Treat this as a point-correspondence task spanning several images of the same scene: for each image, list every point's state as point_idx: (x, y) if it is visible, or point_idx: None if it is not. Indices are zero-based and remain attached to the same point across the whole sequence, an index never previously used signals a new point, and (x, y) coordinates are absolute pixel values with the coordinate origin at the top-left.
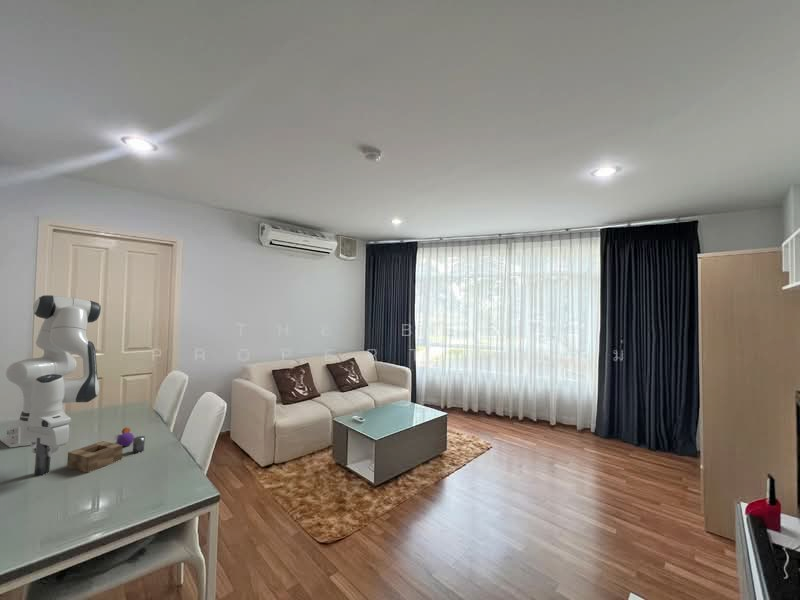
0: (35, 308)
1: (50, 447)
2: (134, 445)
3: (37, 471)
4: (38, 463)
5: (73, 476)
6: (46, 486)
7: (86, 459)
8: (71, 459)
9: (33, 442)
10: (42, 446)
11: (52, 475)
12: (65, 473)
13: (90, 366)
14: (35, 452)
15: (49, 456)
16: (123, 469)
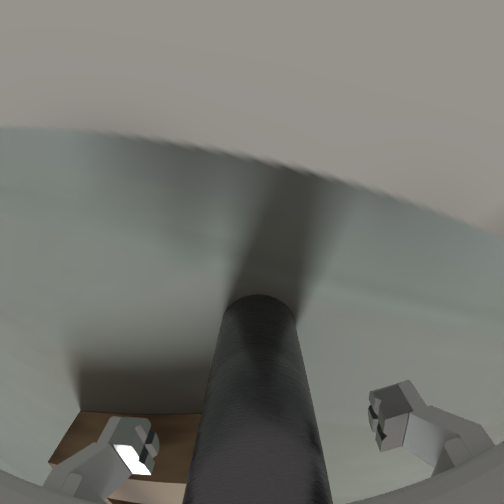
0: None
1: (65, 480)
2: None
3: (233, 315)
4: (224, 349)
5: (79, 376)
6: (42, 276)
7: (65, 455)
8: (185, 452)
9: (444, 461)
10: (185, 489)
11: (167, 345)
12: (144, 381)
13: None
14: (370, 398)
15: (115, 417)
16: (45, 449)
